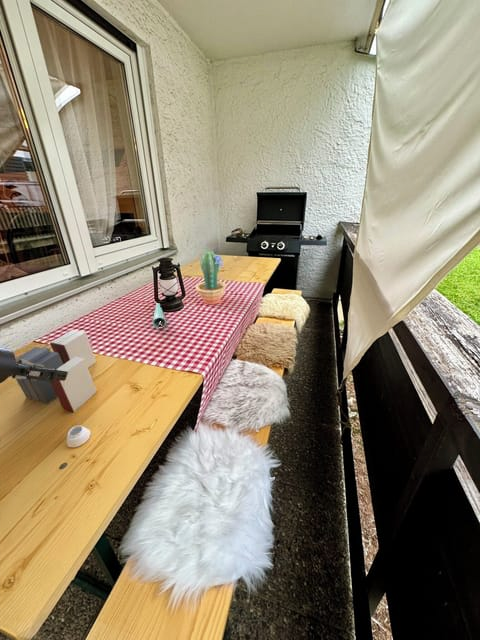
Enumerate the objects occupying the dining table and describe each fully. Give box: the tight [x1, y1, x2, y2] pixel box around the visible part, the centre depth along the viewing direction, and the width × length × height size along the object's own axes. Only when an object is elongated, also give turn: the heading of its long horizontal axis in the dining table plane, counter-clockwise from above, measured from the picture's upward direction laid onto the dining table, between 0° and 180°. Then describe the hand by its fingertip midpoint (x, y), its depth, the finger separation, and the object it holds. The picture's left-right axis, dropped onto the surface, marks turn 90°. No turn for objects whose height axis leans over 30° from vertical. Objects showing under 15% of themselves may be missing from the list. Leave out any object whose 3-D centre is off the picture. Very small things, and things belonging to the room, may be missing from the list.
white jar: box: [65, 424, 92, 448], centre depth 61 cm, size 5×3×5 cm
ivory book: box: [51, 357, 98, 414], centre depth 70 cm, size 3×8×12 cm, turn 162°
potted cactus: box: [195, 250, 227, 305], centre depth 127 cm, size 15×15×25 cm
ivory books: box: [49, 329, 97, 369], centre depth 83 cm, size 6×8×12 cm, turn 162°
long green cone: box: [152, 302, 167, 330], centre depth 118 cm, size 5×6×27 cm
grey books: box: [15, 346, 63, 405], centre depth 73 cm, size 8×8×13 cm
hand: (52, 372), depth 64 cm, fingers open, 8 cm apart
